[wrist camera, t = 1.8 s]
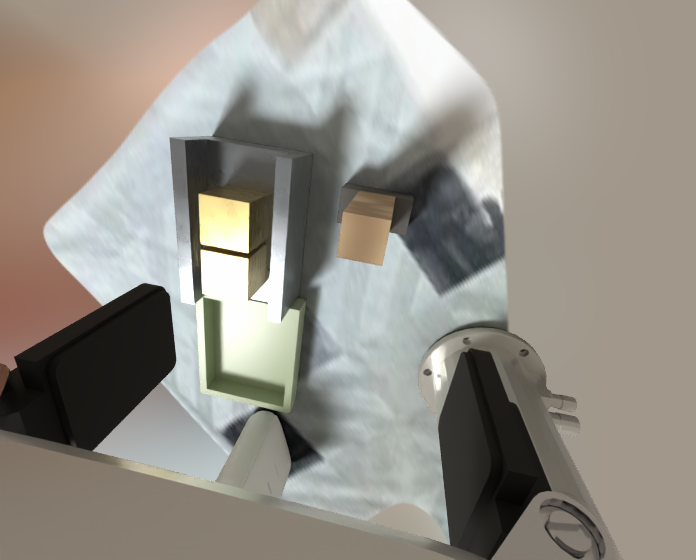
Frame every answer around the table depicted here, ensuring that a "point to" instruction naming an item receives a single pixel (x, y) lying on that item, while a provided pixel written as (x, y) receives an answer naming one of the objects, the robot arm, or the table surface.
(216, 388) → the chip tray
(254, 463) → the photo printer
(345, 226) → the t-shaped hammer
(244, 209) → the yellow wooden cube
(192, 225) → the channel
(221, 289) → the yellow cube
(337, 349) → the table surface
